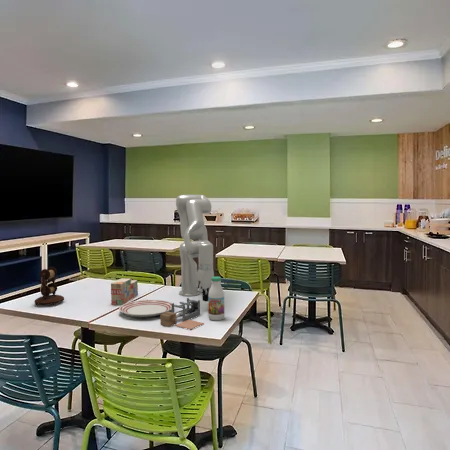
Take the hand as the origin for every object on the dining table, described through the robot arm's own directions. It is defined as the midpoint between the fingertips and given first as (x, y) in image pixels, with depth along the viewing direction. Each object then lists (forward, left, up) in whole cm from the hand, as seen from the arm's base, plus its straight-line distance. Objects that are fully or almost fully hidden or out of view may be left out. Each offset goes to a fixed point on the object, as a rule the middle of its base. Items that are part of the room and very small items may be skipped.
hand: (205, 300), depth 188 cm
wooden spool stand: (+41, -77, -4) cm, 88 cm away
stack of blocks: (+13, -48, -4) cm, 50 cm away
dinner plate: (+21, -21, -5) cm, 31 cm away
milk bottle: (+10, +14, -4) cm, 17 cm away
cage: (+16, +1, -4) cm, 17 cm away
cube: (+29, +1, -4) cm, 29 cm away
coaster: (+24, +10, -4) cm, 27 cm away
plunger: (+18, +1, -4) cm, 18 cm away
